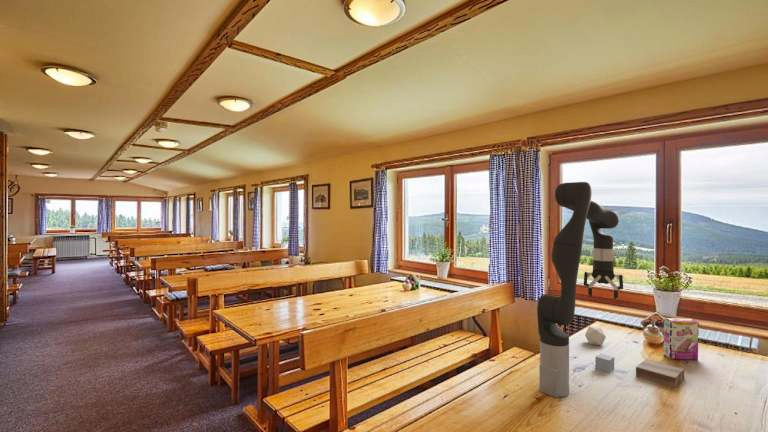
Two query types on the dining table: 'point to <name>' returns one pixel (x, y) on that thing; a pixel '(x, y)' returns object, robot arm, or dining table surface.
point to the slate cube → (604, 363)
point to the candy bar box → (680, 338)
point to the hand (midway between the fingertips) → (602, 297)
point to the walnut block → (660, 373)
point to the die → (595, 336)
